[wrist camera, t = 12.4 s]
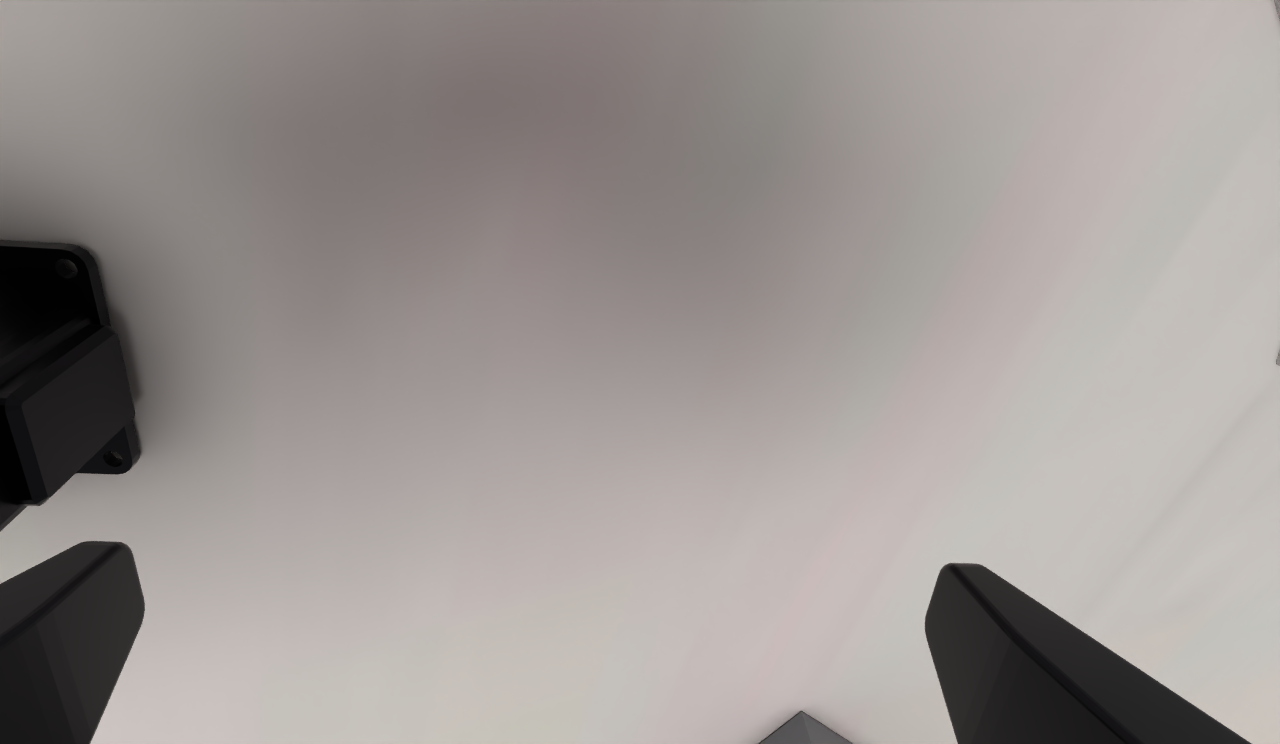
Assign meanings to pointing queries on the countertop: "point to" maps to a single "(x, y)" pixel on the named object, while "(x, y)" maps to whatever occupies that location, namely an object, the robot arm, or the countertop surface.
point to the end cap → (804, 733)
